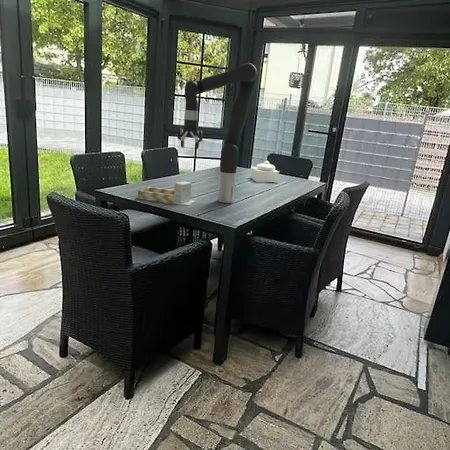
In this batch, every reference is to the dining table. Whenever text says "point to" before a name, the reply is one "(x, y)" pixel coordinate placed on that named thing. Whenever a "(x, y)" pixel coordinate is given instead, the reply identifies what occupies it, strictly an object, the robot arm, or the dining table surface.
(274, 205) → the dining table surface
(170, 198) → the beige piece
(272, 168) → the butter dish
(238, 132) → the robot arm
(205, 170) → the dining table surface
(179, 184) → the small box
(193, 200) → the mat
